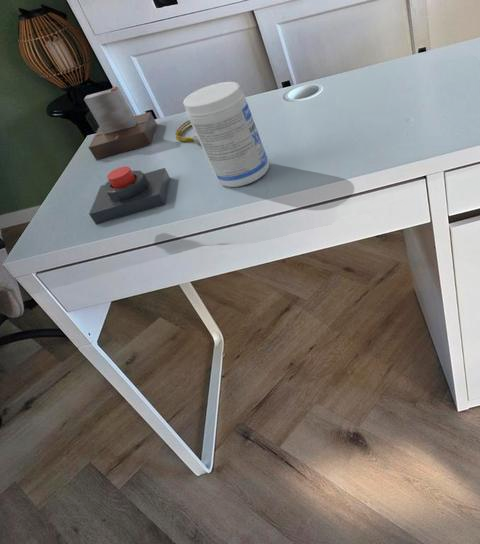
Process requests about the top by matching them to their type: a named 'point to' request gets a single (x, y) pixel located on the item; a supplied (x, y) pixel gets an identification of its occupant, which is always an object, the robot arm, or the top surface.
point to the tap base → (124, 138)
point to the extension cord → (194, 139)
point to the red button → (121, 177)
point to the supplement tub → (227, 133)
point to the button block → (131, 196)
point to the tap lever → (110, 110)
